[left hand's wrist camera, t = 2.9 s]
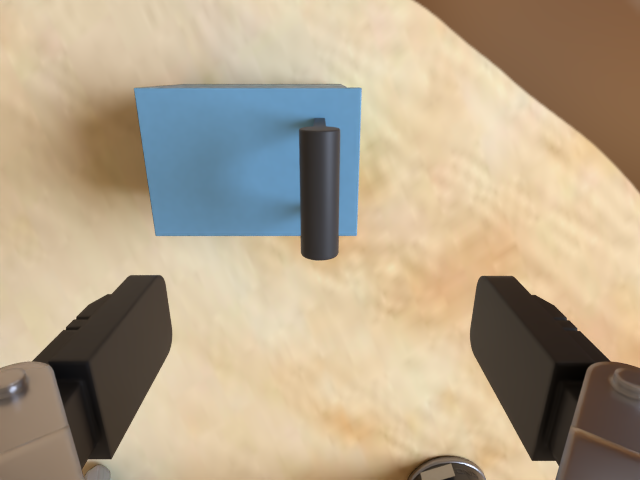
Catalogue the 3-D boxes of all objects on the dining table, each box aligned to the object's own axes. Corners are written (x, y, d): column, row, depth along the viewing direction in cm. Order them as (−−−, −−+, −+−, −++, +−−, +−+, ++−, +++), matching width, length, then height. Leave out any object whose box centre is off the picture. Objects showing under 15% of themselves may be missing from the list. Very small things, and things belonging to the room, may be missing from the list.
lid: (360, 87, 27) (378, 93, 19) (355, 231, 30) (368, 289, 22) (139, 87, 27) (61, 93, 19) (160, 231, 30) (101, 289, 22)
